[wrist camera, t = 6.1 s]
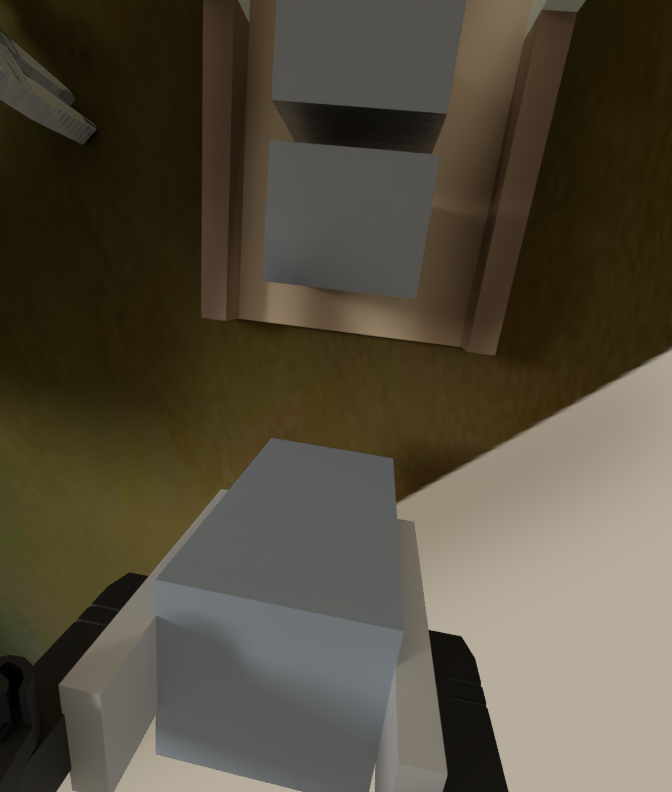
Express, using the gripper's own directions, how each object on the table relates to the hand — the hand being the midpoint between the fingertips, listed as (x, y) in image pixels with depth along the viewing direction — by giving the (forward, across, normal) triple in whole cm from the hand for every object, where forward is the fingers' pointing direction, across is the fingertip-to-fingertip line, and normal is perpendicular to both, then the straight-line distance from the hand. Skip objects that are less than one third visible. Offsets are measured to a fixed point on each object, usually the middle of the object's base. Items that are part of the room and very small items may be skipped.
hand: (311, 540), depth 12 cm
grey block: (+3, 0, 0) cm, 3 cm away
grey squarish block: (+8, 0, +10) cm, 13 cm away
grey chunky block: (+8, 0, +15) cm, 17 cm away
